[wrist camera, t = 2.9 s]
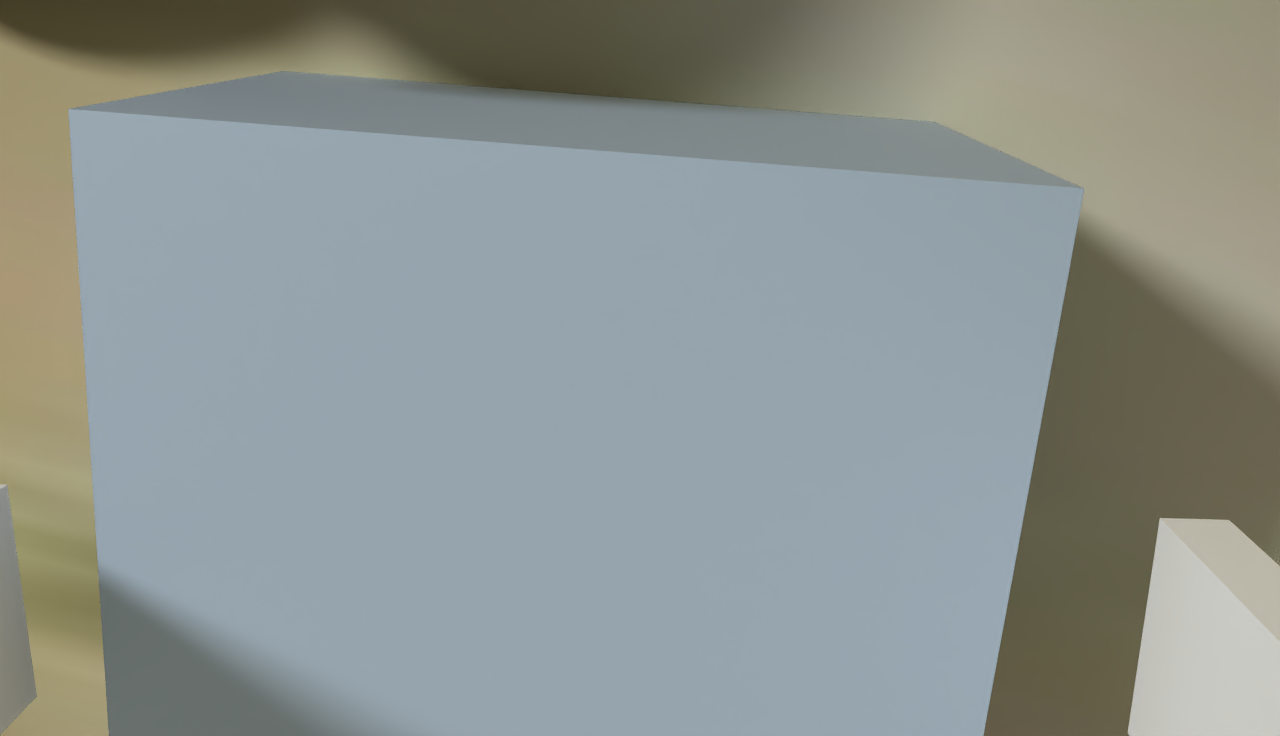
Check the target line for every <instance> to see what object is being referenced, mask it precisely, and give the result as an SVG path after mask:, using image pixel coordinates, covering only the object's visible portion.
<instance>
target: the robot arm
mask: <svg viewBox="0 0 1280 736" xmlns="http://www.w3.org/2000/svg"><path fill="white" fill-rule="evenodd" d="M36 697H37V695H36V688H35V681H34V673H33V666H32V659H31V652H30V645H29V638H28V631H27V623H26V616H25V609H24V602H23V595H22V588H21V581H20V573H19V566H18V559H17V552H16V545H15V538H14V531H13V523H12V516H11V509H10V502H9V495H8V488H7V485H0V734H1V733H2V732H3V731H4V730H5V729H6V728H7V727H8V726H9V725H10V724H11V723H12V722H13V721H14V720H15V719H16V718H17V717H18V716H19V714H20V713H21V712H22V711H23V710H24V709H25V708H26V707H27V706H28V705H29V704H30V703H31V702H32V701H33V700H34V699H35V698H36ZM1128 734H1129V736H1280V566H1279V565H1278V564H1277V563H1276V562H1275V561H1274V560H1273V559H1271V558H1270V557H1269V556H1268V555H1267V554H1266V553H1265V552H1264V551H1263V550H1262V549H1260V548H1259V547H1258V546H1257V545H1256V544H1255V543H1254V542H1253V541H1252V540H1251V539H1249V538H1248V537H1247V536H1246V535H1245V534H1244V533H1243V532H1242V531H1241V530H1240V529H1238V528H1237V527H1236V526H1235V525H1234V524H1233V523H1232V522H1231V521H1230V520H1214V519H1179V518H1160V520H1159V527H1158V534H1157V540H1156V547H1155V554H1154V560H1153V567H1152V574H1151V580H1150V587H1149V594H1148V600H1147V607H1146V614H1145V620H1144V627H1143V634H1142V640H1141V647H1140V654H1139V660H1138V667H1137V673H1136V680H1135V687H1134V693H1133V700H1132V707H1131V713H1130V720H1129V727H1128Z"/></svg>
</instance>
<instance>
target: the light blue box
mask: <svg viewBox="0 0 1280 736" xmlns="http://www.w3.org/2000/svg"><path fill="white" fill-rule="evenodd" d="M68 110H69V125H70V141H71V156H72V172H73V187H74V203H75V218H76V233H77V249H78V264H79V280H80V295H81V311H82V326H83V342H84V357H85V372H86V388H87V403H88V419H89V434H90V450H91V465H92V481H93V496H94V511H95V527H96V542H97V558H98V573H99V589H100V604H101V620H102V635H103V650H104V666H105V681H106V697H107V712H108V728H109V736H983V735H984V729H985V724H986V719H987V713H988V708H989V702H990V697H991V691H992V686H993V681H994V675H995V670H996V664H997V659H998V654H999V648H1000V643H1001V637H1002V632H1003V626H1004V621H1005V616H1006V610H1007V605H1008V599H1009V594H1010V588H1011V583H1012V578H1013V572H1014V567H1015V561H1016V556H1017V551H1018V545H1019V540H1020V534H1021V529H1022V523H1023V518H1024V513H1025V507H1026V502H1027V496H1028V491H1029V485H1030V480H1031V475H1032V469H1033V464H1034V458H1035V453H1036V448H1037V442H1038V437H1039V431H1040V426H1041V420H1042V415H1043V410H1044V404H1045V399H1046V393H1047V388H1048V382H1049V377H1050V372H1051V366H1052V361H1053V355H1054V350H1055V345H1056V339H1057V334H1058V328H1059V323H1060V317H1061V312H1062V307H1063V301H1064V296H1065V290H1066V285H1067V279H1068V274H1069V269H1070V263H1071V258H1072V252H1073V247H1074V242H1075V236H1076V231H1077V225H1078V220H1079V214H1080V209H1081V204H1082V198H1083V193H1084V188H1082V187H1080V186H1077V185H1075V184H1073V183H1071V182H1068V181H1066V180H1064V179H1062V178H1059V177H1057V176H1055V175H1053V174H1050V173H1048V172H1046V171H1044V170H1041V169H1039V168H1037V167H1035V166H1032V165H1030V164H1028V163H1026V162H1023V161H1021V160H1019V159H1017V158H1015V157H1012V156H1010V155H1008V154H1006V153H1003V152H1001V151H999V150H997V149H994V148H992V147H990V146H988V145H985V144H983V143H981V142H979V141H976V140H974V139H972V138H970V137H967V136H965V135H963V134H961V133H958V132H956V131H954V130H952V129H949V128H947V127H945V126H943V125H940V124H938V123H936V122H927V121H915V120H902V119H889V118H876V117H863V116H851V115H838V114H825V113H812V112H800V111H787V110H774V109H761V108H748V107H736V106H723V105H710V104H697V103H685V102H672V101H659V100H646V99H633V98H621V97H608V96H595V95H582V94H570V93H557V92H544V91H531V90H518V89H506V88H493V87H480V86H467V85H455V84H442V83H429V82H416V81H403V80H391V79H378V78H365V77H352V76H340V75H327V74H314V73H301V72H288V71H281V72H275V73H270V74H264V75H258V76H253V77H247V78H241V79H236V80H230V81H224V82H219V83H213V84H207V85H202V86H196V87H190V88H185V89H179V90H173V91H168V92H162V93H156V94H151V95H145V96H139V97H134V98H128V99H122V100H117V101H111V102H105V103H100V104H94V105H88V106H83V107H77V108H71V109H68Z"/></svg>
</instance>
